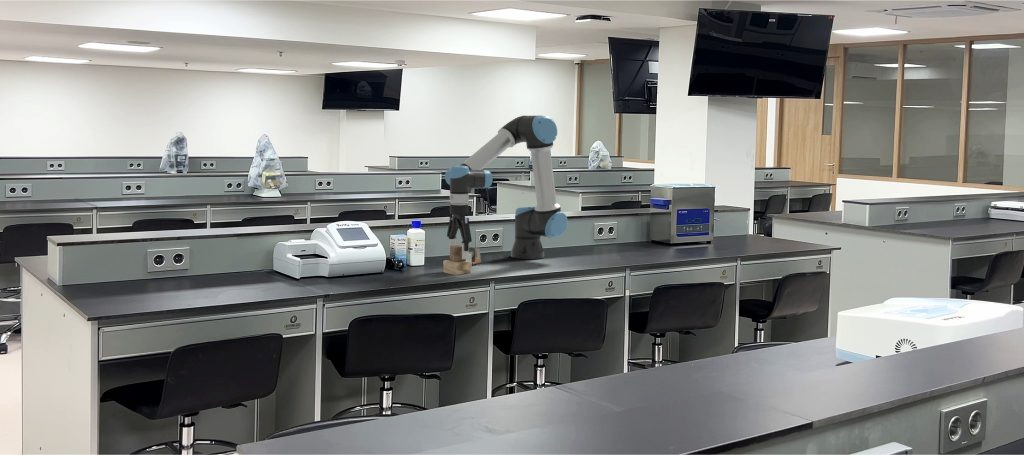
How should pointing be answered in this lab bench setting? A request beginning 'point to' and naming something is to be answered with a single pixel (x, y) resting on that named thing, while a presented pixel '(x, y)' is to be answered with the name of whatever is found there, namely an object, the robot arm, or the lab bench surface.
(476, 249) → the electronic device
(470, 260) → the grey cube
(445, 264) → the oak base
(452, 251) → the walnut block
